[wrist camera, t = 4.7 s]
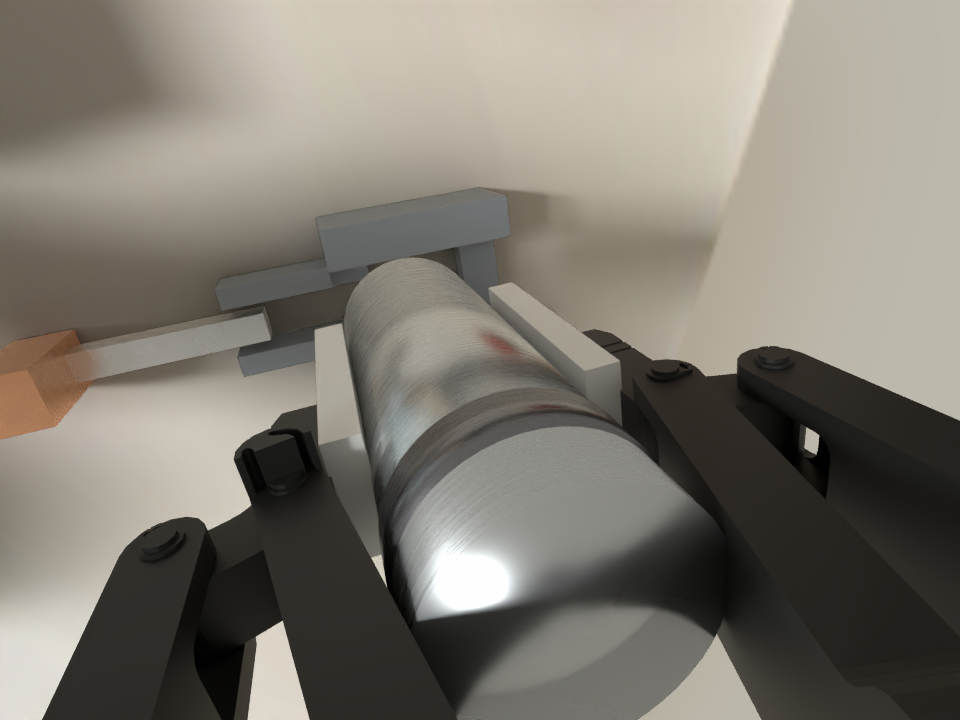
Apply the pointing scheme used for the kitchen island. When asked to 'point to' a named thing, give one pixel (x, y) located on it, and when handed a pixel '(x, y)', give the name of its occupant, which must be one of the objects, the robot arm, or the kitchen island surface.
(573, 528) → the grey cylinder
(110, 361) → the pin
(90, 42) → the kitchen island surface
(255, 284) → the mount
